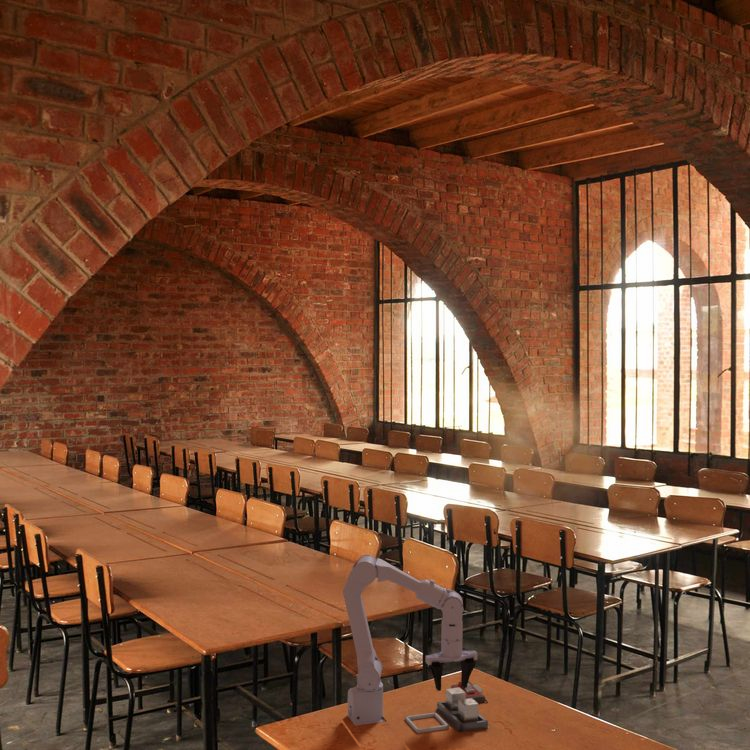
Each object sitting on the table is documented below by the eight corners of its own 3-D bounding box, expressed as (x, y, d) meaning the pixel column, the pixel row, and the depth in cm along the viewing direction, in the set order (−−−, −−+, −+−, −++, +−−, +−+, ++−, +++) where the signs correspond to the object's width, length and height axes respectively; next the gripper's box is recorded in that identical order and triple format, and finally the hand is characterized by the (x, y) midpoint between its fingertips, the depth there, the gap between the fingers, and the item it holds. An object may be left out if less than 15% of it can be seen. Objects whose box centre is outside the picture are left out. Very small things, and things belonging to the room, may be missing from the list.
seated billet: (452, 716, 227) (452, 694, 227) (446, 710, 231) (446, 689, 231) (465, 714, 228) (465, 692, 228) (459, 708, 232) (459, 687, 232)
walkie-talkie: (495, 707, 237) (467, 682, 256) (495, 692, 237) (467, 668, 256) (466, 711, 234) (440, 686, 253) (466, 695, 234) (440, 671, 253)
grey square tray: (417, 737, 216) (417, 730, 216) (404, 723, 224) (404, 716, 224) (448, 733, 219) (448, 725, 219) (435, 719, 227) (435, 712, 227)
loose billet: (464, 728, 219) (464, 705, 219) (458, 722, 223) (458, 699, 223) (478, 726, 220) (478, 703, 220) (471, 720, 224) (471, 698, 224)
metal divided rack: (458, 737, 216) (458, 725, 216) (435, 713, 232) (435, 702, 232) (490, 732, 219) (490, 721, 219) (464, 709, 234) (464, 698, 234)
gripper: (432, 645, 220) (432, 696, 220) (482, 640, 224) (482, 690, 224) (422, 636, 226) (422, 686, 226) (471, 632, 231) (471, 681, 231)
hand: (451, 687), depth 226 cm, fingers open, 7 cm apart
